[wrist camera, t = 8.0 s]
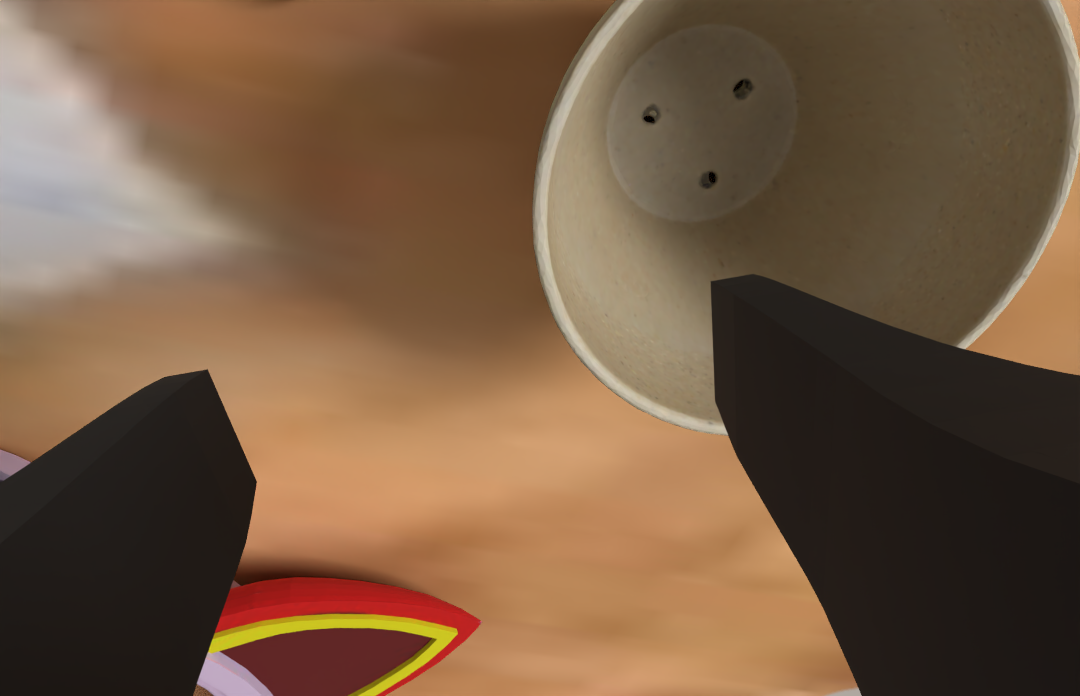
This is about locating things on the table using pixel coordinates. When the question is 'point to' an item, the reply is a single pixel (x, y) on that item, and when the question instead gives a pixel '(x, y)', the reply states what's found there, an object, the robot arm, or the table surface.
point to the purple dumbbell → (321, 634)
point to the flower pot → (798, 172)
